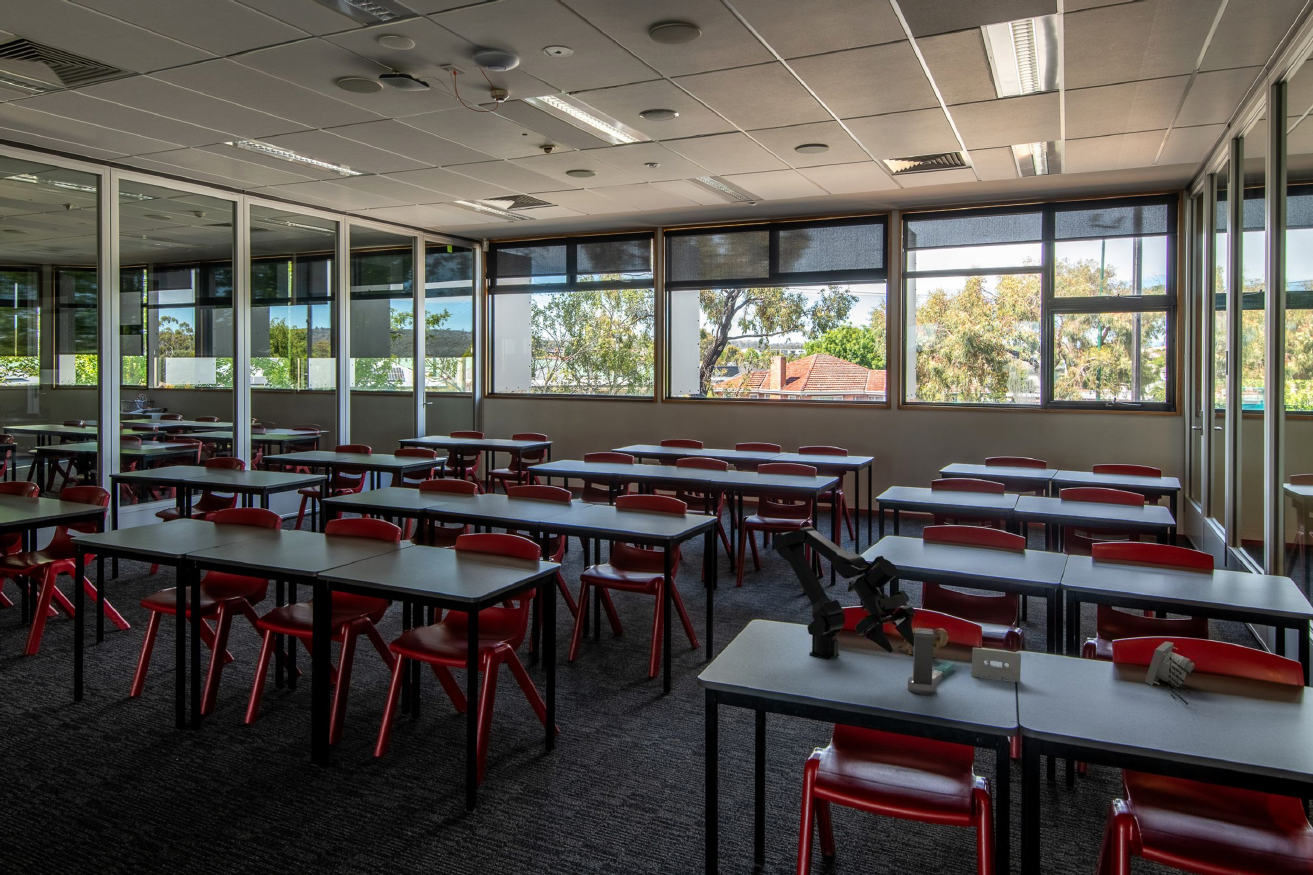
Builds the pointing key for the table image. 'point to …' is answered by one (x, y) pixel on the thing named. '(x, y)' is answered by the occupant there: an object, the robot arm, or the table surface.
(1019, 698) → the table surface
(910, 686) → the ratchet
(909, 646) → the lion figurine
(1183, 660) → the grey pronged block
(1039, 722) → the table surface
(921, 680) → the charcoal square pillar
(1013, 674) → the cassette
